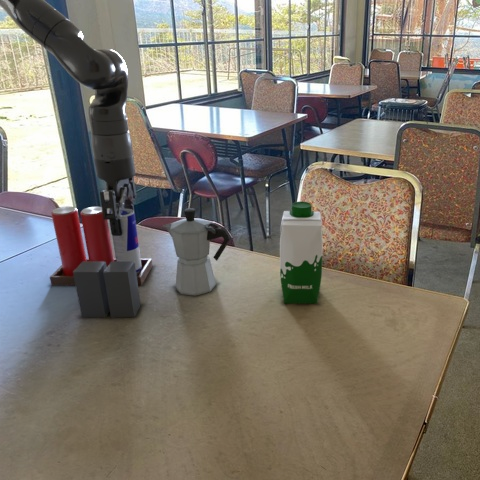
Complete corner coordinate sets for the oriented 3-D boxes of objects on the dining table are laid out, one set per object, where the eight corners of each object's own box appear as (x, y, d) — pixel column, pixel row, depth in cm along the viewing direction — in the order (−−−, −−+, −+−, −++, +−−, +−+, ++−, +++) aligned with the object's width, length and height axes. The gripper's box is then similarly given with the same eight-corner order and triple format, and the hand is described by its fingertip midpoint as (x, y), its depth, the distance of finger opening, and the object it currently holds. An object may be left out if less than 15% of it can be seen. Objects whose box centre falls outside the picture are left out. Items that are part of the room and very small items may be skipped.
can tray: (51, 285, 104) (49, 277, 103) (69, 266, 113) (67, 258, 112) (141, 285, 105) (140, 277, 105) (152, 266, 114) (151, 258, 113)
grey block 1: (81, 317, 93) (72, 271, 89) (90, 305, 98) (82, 261, 94) (105, 317, 94) (97, 272, 90) (113, 305, 98) (105, 261, 94)
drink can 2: (88, 278, 106) (76, 214, 100) (96, 268, 111) (85, 206, 105) (111, 278, 107) (100, 214, 101) (118, 268, 111) (108, 206, 105)
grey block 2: (110, 317, 94) (103, 271, 90) (118, 305, 98) (111, 261, 94) (134, 317, 94) (127, 271, 90) (140, 305, 98) (134, 261, 94)
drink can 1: (60, 278, 106) (46, 213, 100) (69, 268, 111) (57, 205, 104) (83, 278, 106) (71, 214, 100) (92, 268, 111) (80, 206, 105)
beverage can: (146, 273, 109) (138, 211, 103) (125, 280, 106) (115, 217, 100) (135, 266, 113) (126, 205, 106) (114, 273, 109) (104, 211, 103)
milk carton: (320, 285, 108) (323, 201, 100) (321, 306, 100) (324, 216, 92) (281, 284, 108) (280, 200, 99) (279, 306, 99) (278, 216, 91)
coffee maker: (159, 292, 103) (150, 213, 96) (177, 273, 111) (170, 199, 104) (225, 300, 101) (221, 220, 94) (239, 280, 109) (236, 206, 101)
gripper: (106, 146, 104) (117, 215, 111) (80, 162, 91) (94, 240, 98) (142, 146, 105) (150, 216, 111) (120, 163, 92) (131, 240, 98)
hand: (124, 227), depth 105 cm, fingers open, 8 cm apart
